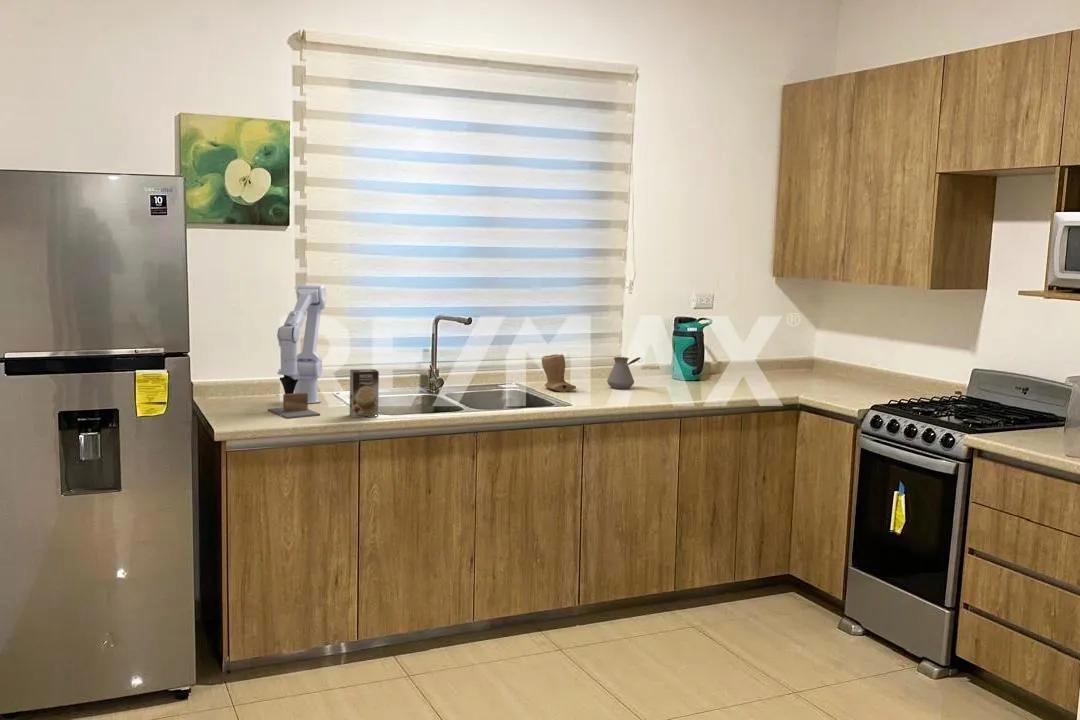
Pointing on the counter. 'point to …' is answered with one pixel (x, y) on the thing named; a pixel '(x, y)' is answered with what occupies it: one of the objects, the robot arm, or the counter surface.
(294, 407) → the slab
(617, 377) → the coffee pot
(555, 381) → the brown suede boot
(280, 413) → the mat
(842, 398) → the counter surface
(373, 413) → the coffee box
